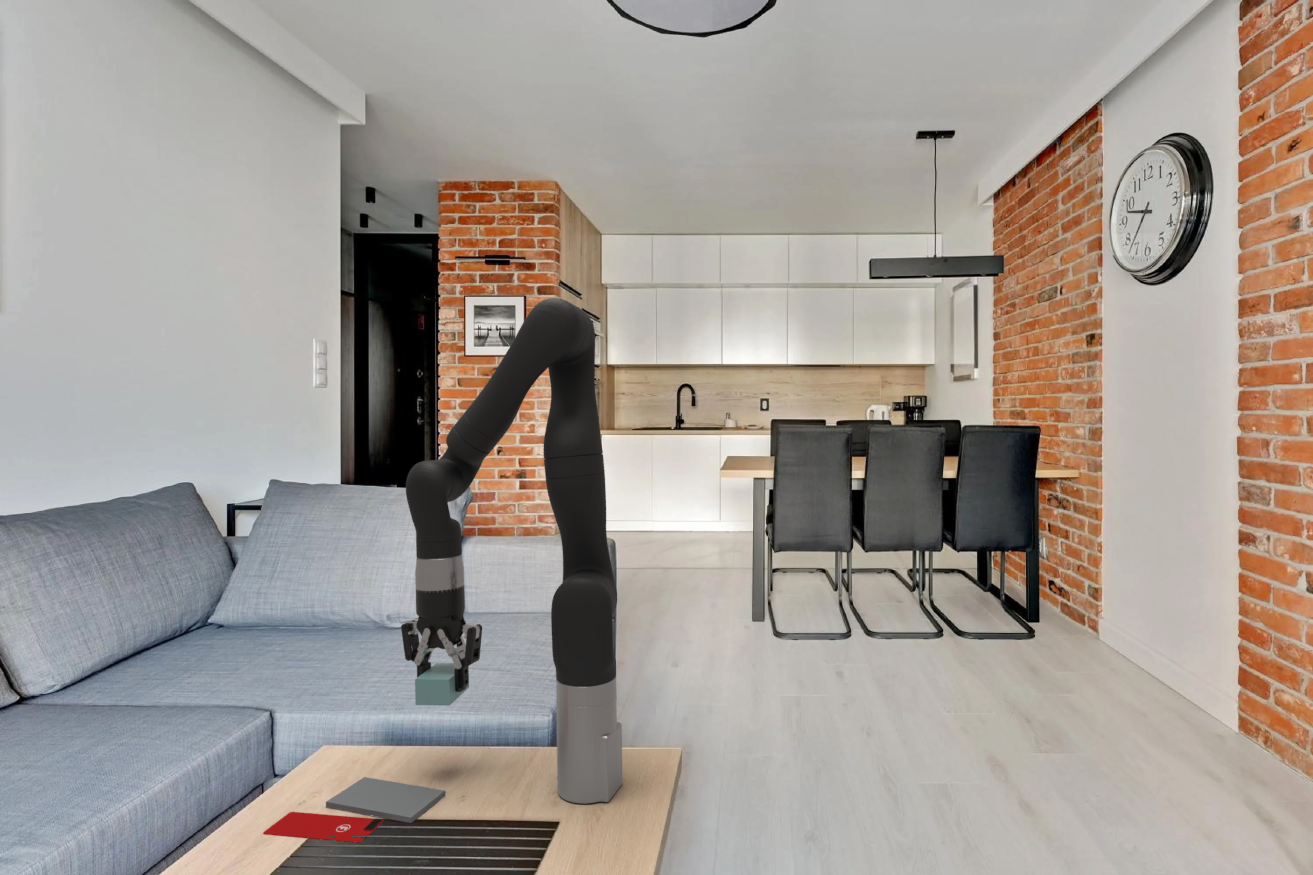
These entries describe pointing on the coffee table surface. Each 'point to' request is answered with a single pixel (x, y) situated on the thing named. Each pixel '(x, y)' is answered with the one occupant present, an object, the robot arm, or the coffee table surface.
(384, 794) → the mat
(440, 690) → the teal rectangular block
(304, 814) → the electronic device
